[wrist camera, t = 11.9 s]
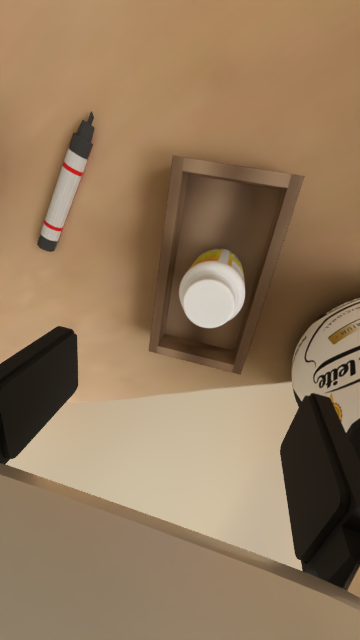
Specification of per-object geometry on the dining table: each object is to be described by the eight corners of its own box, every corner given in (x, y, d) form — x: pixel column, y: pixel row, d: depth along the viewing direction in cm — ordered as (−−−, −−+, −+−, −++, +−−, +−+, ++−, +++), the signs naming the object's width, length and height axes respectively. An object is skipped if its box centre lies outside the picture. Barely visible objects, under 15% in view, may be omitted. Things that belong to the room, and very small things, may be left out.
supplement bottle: (185, 284, 30) (161, 319, 21) (205, 238, 27) (188, 254, 18) (229, 304, 30) (224, 349, 21) (253, 260, 27) (260, 288, 18)
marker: (57, 250, 33) (47, 252, 31) (44, 241, 33) (33, 243, 31) (105, 121, 26) (96, 115, 24) (89, 109, 26) (78, 102, 24)
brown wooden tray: (294, 180, 24) (304, 176, 21) (240, 356, 33) (240, 374, 29) (182, 162, 26) (173, 155, 22) (158, 335, 34) (148, 351, 31)
